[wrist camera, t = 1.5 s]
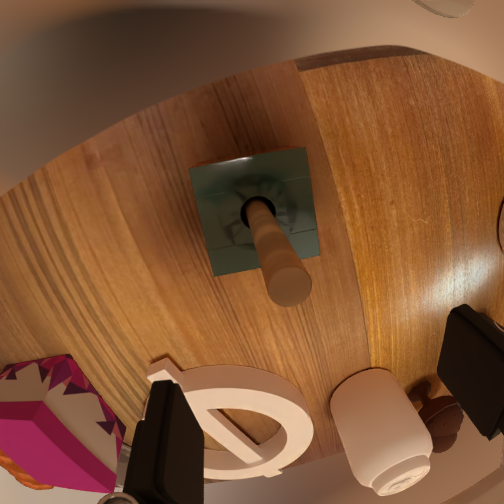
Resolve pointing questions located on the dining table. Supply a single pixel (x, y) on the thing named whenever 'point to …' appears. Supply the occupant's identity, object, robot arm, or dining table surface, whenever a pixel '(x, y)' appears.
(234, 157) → the utensil stand
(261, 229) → the stick
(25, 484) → the bread
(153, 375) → the ring with crossbar
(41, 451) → the decorative box
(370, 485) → the can
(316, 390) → the dining table surface
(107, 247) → the dining table surface
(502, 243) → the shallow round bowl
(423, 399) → the ice cream bowl
